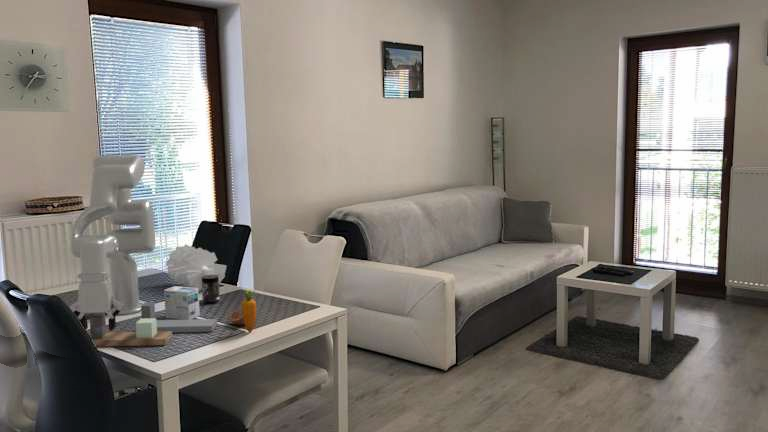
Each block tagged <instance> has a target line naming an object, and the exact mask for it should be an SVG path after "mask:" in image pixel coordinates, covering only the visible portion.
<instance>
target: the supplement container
mask: <svg viewBox="0 0 768 432" xmlns="http://www.w3.org/2000/svg"><path fill="white" fill-rule="evenodd" d="M201 280H202V290H201V293H202V294H201V295H202V296H201V297H202V303H204V304H206V305H213V304H217V303H219V302H220V300H221V299H220V297H221V296H220V283H219V276H218V275H205V276H202V277H201Z"/></svg>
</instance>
